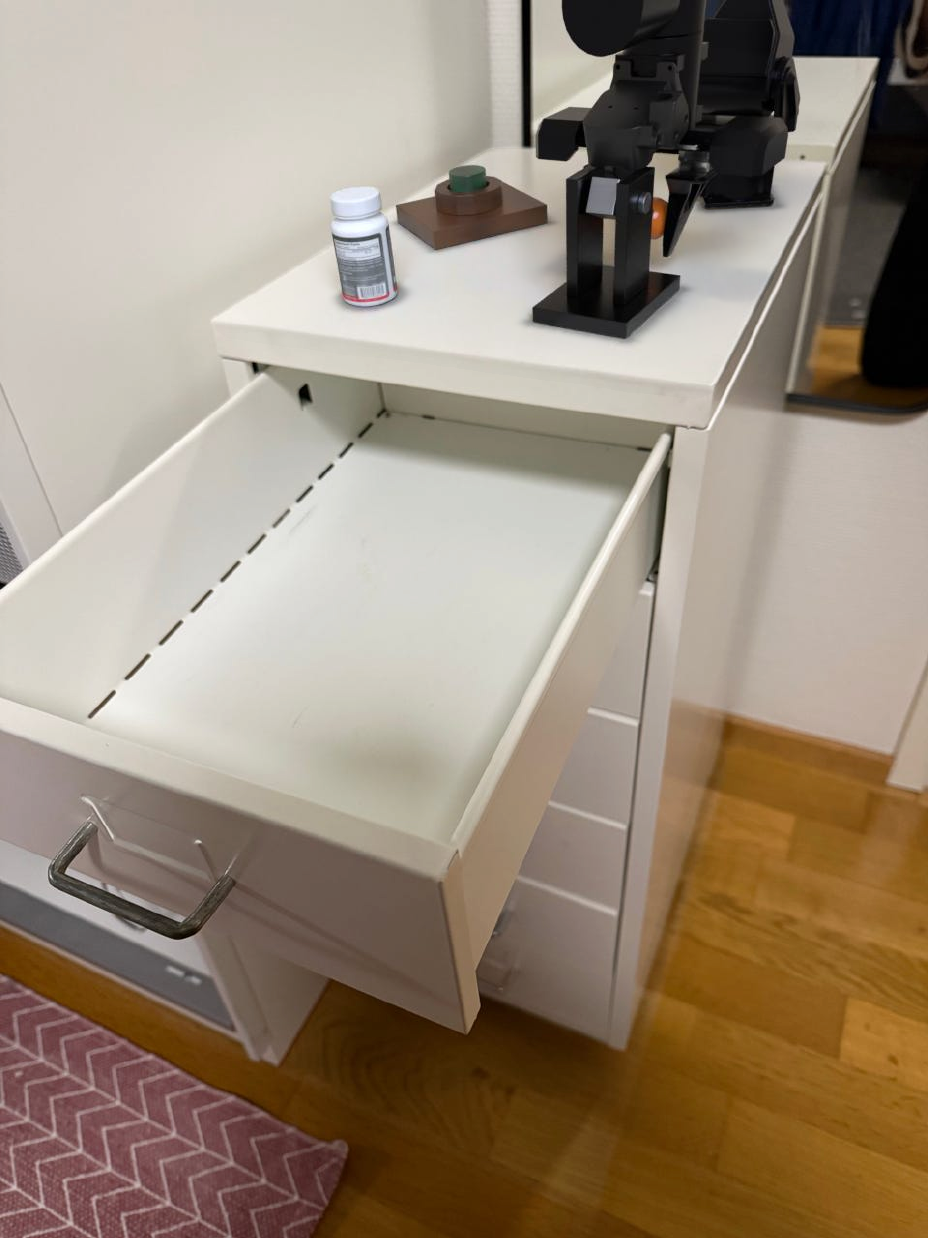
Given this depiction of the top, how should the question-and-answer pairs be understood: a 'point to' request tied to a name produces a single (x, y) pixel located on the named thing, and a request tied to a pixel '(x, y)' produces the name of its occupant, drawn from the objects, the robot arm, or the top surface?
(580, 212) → the switch bracket
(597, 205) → the switch lever
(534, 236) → the top surface
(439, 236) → the button block
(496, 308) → the top surface
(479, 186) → the button
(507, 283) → the top surface
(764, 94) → the robot arm
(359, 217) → the pill bottle
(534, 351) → the top surface
